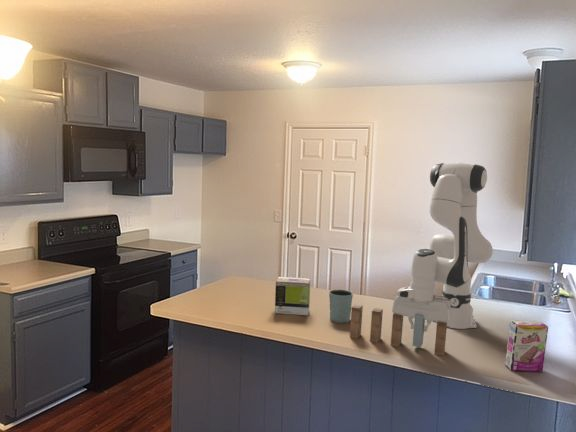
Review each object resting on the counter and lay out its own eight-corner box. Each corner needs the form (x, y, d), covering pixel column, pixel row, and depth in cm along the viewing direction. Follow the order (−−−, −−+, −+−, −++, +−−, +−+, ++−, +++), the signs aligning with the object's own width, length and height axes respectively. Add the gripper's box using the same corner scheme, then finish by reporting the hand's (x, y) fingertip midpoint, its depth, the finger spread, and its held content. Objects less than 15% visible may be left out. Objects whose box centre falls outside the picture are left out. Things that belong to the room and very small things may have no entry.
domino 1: (353, 333, 196) (355, 304, 194) (360, 334, 194) (362, 305, 193) (349, 337, 191) (351, 307, 190) (357, 338, 190) (359, 308, 188)
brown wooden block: (436, 349, 183) (438, 318, 181) (444, 351, 181) (447, 319, 180) (434, 354, 178) (437, 322, 177) (442, 355, 177) (445, 323, 175)
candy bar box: (511, 371, 166) (516, 324, 164) (504, 365, 171) (509, 320, 169) (543, 372, 166) (549, 326, 164) (535, 366, 171) (540, 321, 169)
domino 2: (373, 337, 192) (375, 307, 191) (380, 338, 191) (382, 308, 190) (369, 341, 188) (371, 310, 186) (377, 342, 187) (379, 312, 185)
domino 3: (393, 341, 189) (395, 310, 188) (401, 342, 188) (403, 312, 186) (390, 345, 184) (392, 314, 183) (398, 346, 183) (400, 315, 182)
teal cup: (350, 324, 206) (351, 296, 205) (326, 321, 208) (327, 294, 207) (351, 317, 216) (353, 290, 215) (329, 314, 218) (330, 288, 217)
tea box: (309, 309, 224) (311, 277, 223) (308, 316, 214) (309, 283, 213) (276, 307, 226) (278, 275, 224) (274, 313, 216) (275, 280, 214)
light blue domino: (414, 341, 186) (417, 310, 184) (422, 343, 184) (425, 312, 183) (412, 345, 181) (414, 314, 180) (420, 347, 180) (423, 315, 178)
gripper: (452, 295, 179) (449, 332, 181) (396, 287, 188) (393, 322, 189) (450, 300, 173) (447, 337, 175) (392, 291, 182) (390, 327, 183)
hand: (418, 329), depth 182 cm, fingers closed on light blue domino, 3 cm apart
